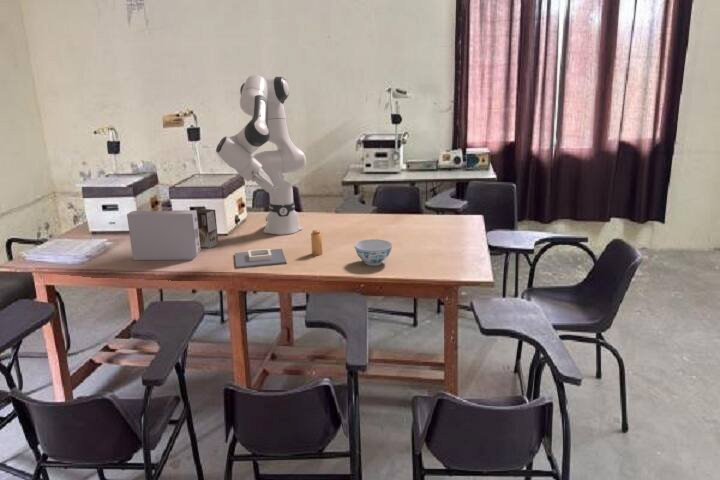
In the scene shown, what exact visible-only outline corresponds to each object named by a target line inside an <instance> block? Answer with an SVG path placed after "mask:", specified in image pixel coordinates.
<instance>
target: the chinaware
mask: <svg viewBox="0 0 720 480" xmlns="http://www.w3.org/2000/svg"><path fill="white" fill-rule="evenodd" d="M392 248H393V244H392V242H390V241H389V240H385V239H379V238H378V239H377V238H375V239H373V238H372V239H363V240H359V241H357V242H355V243H354V249H355V252H356V254H357V256H358V258H360V259H361V261H363V262H364V263H365V264H366V265H367V266H371V265H372V267H373V266H380V265H381V264H382V263H383V261H386V259H387V258H388V257H389V256H390V254H391V251H392Z"/></svg>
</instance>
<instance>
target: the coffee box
mask: <svg viewBox="0 0 720 480" xmlns="http://www.w3.org/2000/svg"><path fill="white" fill-rule="evenodd" d="M195 210H196V211H197V220H198V230H199V240H200V248H209V249H211V248H213V247H215V246H218V245H219V237H218V224H217V215H216V209H208V208H200V207H199V208H197V209H195Z"/></svg>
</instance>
